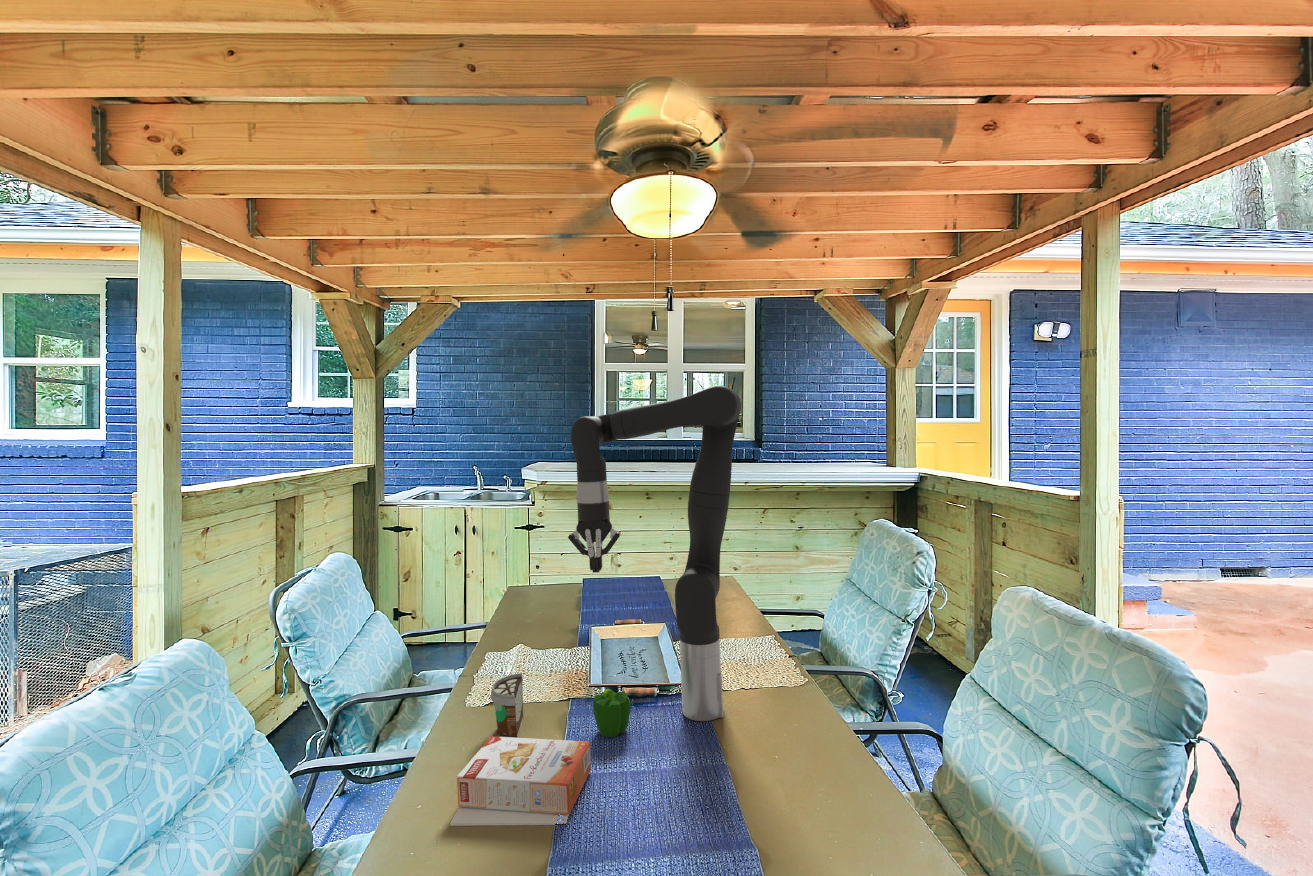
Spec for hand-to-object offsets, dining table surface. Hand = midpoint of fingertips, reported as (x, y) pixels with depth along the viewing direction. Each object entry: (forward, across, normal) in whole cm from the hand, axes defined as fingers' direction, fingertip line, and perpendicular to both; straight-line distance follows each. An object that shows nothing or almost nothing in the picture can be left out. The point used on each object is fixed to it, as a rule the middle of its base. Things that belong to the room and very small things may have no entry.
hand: (596, 571), depth 142 cm
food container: (+32, +20, +11) cm, 39 cm away
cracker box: (+28, -1, +35) cm, 45 cm away
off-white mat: (+32, +10, +34) cm, 48 cm away
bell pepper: (+32, -4, +13) cm, 35 cm away
